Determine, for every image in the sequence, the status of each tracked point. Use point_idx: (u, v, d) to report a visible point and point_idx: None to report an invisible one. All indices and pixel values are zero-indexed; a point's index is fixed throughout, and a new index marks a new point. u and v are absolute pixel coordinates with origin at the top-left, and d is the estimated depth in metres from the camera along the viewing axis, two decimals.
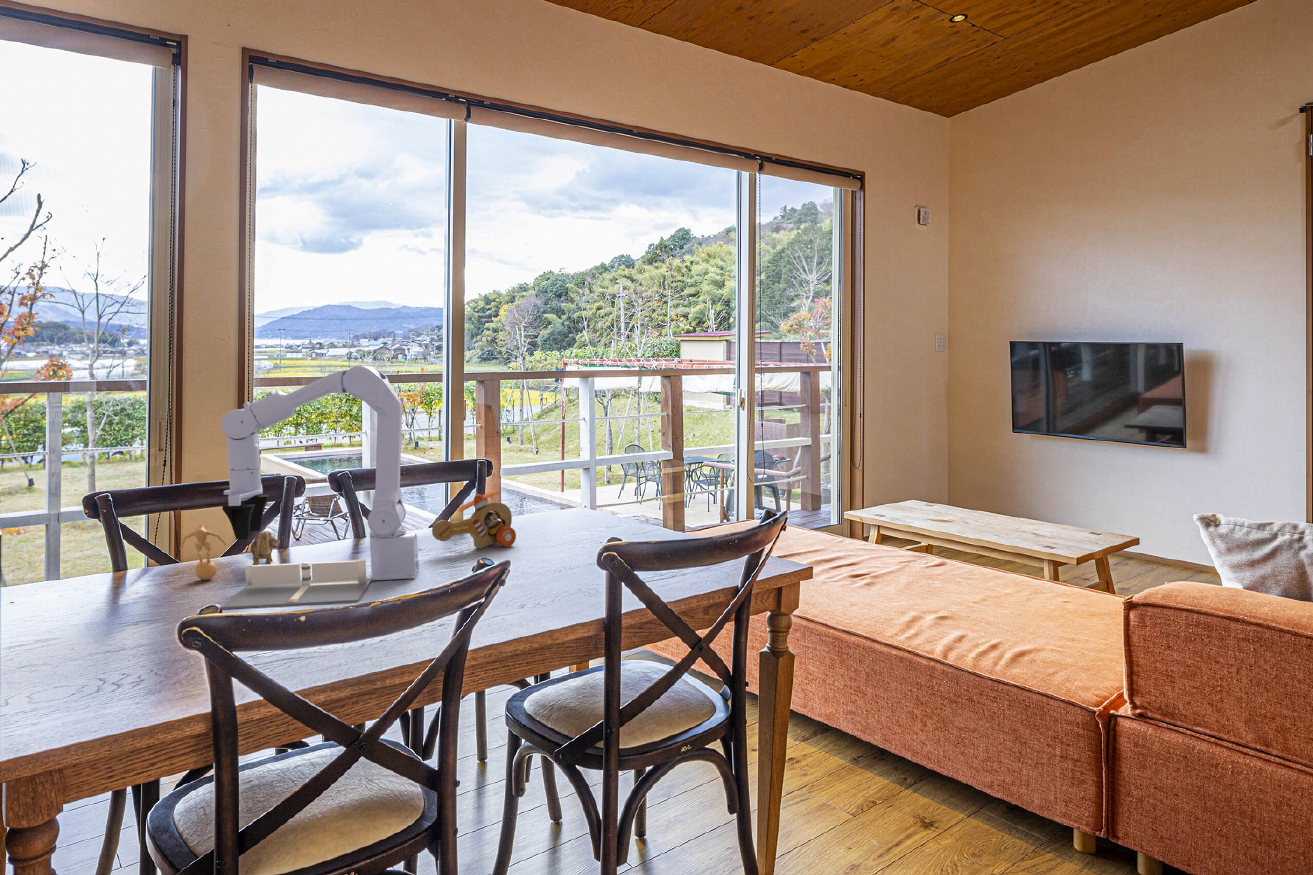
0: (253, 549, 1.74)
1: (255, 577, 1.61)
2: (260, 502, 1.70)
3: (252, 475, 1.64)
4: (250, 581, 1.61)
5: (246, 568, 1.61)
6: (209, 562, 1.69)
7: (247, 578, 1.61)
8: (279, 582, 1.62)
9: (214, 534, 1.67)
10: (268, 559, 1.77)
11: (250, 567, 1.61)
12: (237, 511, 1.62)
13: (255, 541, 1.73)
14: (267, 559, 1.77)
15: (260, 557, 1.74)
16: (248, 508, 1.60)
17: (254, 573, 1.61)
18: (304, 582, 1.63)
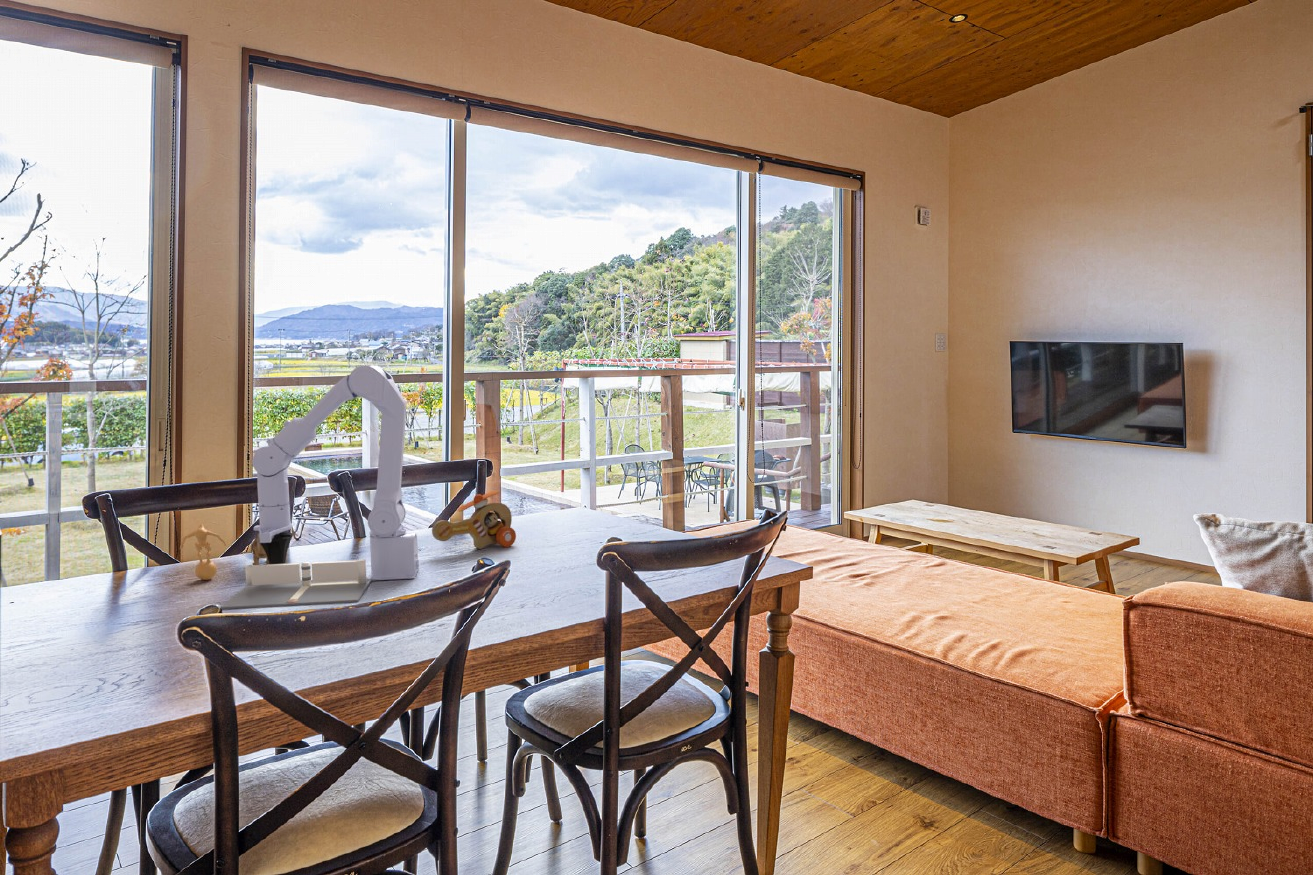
0: (253, 548, 1.74)
1: (255, 577, 1.61)
2: None
3: (282, 511, 1.65)
4: (250, 581, 1.61)
5: (246, 568, 1.61)
6: (209, 562, 1.69)
7: (247, 578, 1.61)
8: (279, 582, 1.62)
9: (214, 534, 1.67)
10: None
11: (250, 567, 1.61)
12: (273, 543, 1.67)
13: (255, 540, 1.74)
14: (267, 558, 1.77)
15: (260, 556, 1.75)
16: (283, 541, 1.65)
17: (254, 573, 1.61)
18: (304, 582, 1.63)
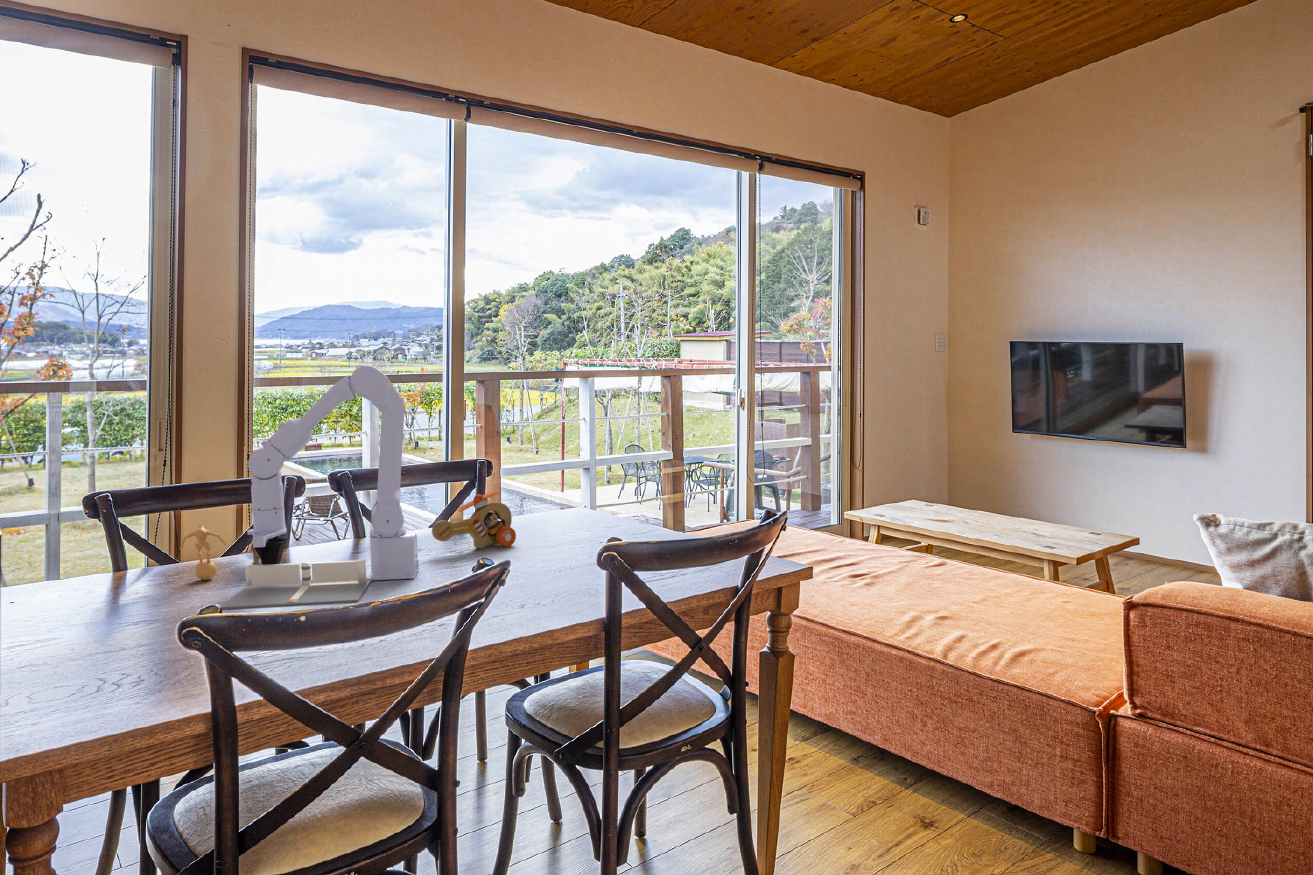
0: None
1: (255, 577, 1.61)
2: None
3: (276, 515, 1.61)
4: (250, 581, 1.61)
5: (246, 568, 1.61)
6: (209, 562, 1.69)
7: (247, 578, 1.61)
8: (279, 582, 1.62)
9: (214, 534, 1.67)
10: None
11: (250, 567, 1.61)
12: (267, 547, 1.63)
13: None
14: None
15: None
16: (278, 545, 1.62)
17: (254, 573, 1.61)
18: (304, 582, 1.63)
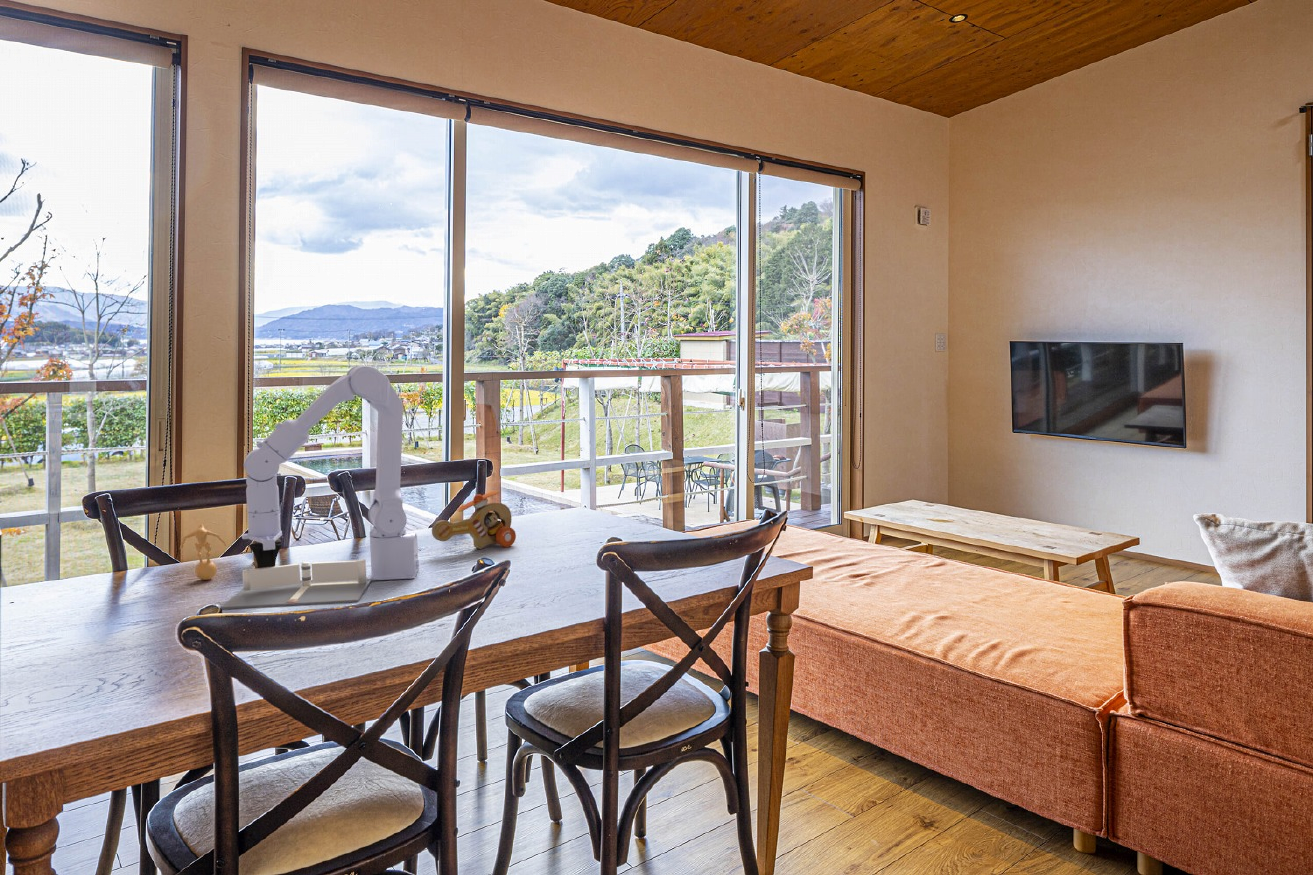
0: None
1: (254, 581, 1.59)
2: None
3: (276, 517, 1.59)
4: (249, 585, 1.58)
5: (244, 572, 1.58)
6: (209, 562, 1.69)
7: (245, 583, 1.58)
8: (279, 584, 1.61)
9: (214, 534, 1.67)
10: None
11: (248, 571, 1.58)
12: (263, 550, 1.60)
13: None
14: None
15: None
16: (278, 546, 1.60)
17: (253, 577, 1.58)
18: (304, 582, 1.63)
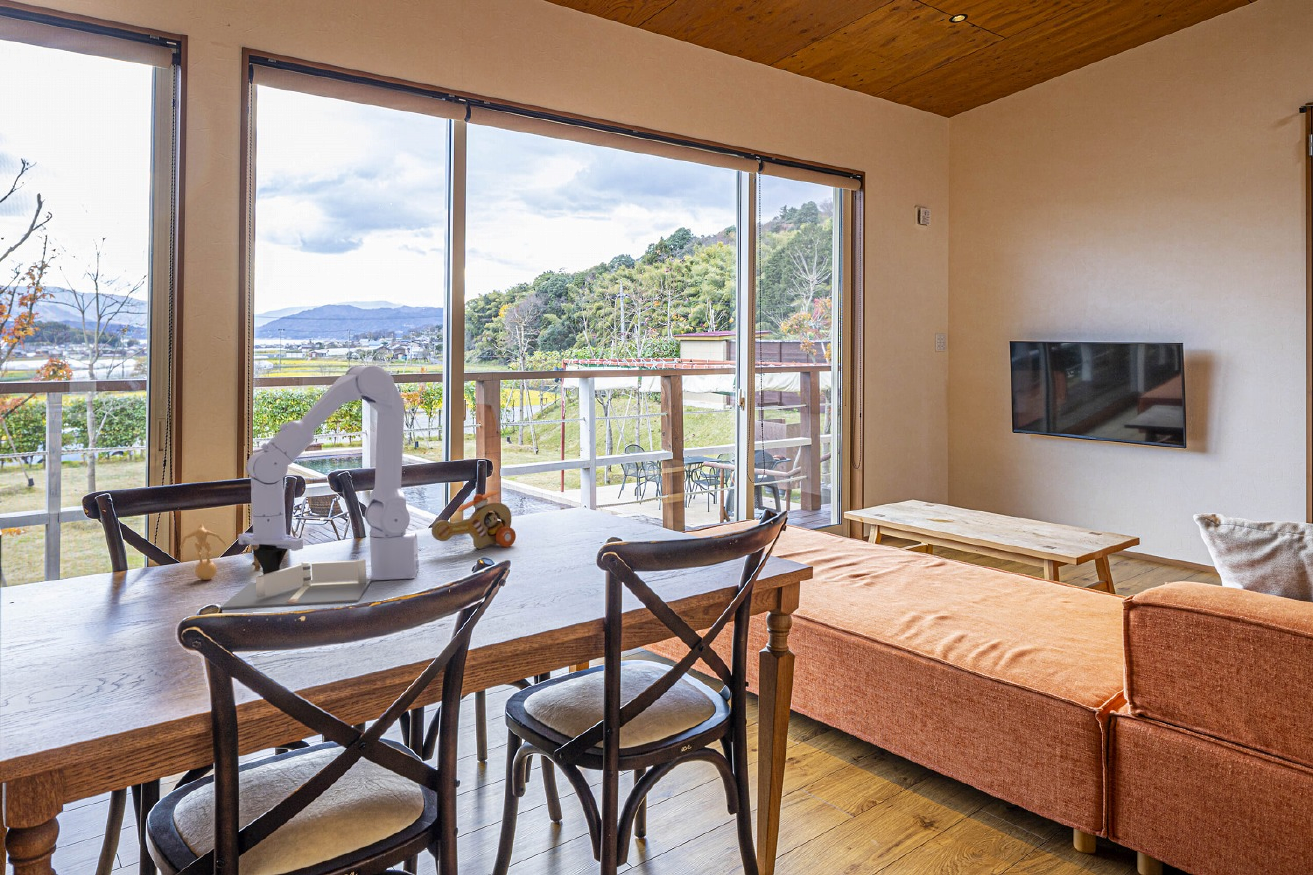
0: (254, 548, 1.75)
1: (267, 586, 1.55)
2: None
3: (285, 519, 1.57)
4: (264, 592, 1.54)
5: (260, 579, 1.53)
6: (209, 562, 1.69)
7: (261, 589, 1.53)
8: (287, 587, 1.59)
9: (214, 534, 1.67)
10: None
11: (263, 577, 1.54)
12: None
13: None
14: None
15: None
16: (286, 549, 1.58)
17: (266, 582, 1.55)
18: (304, 582, 1.63)
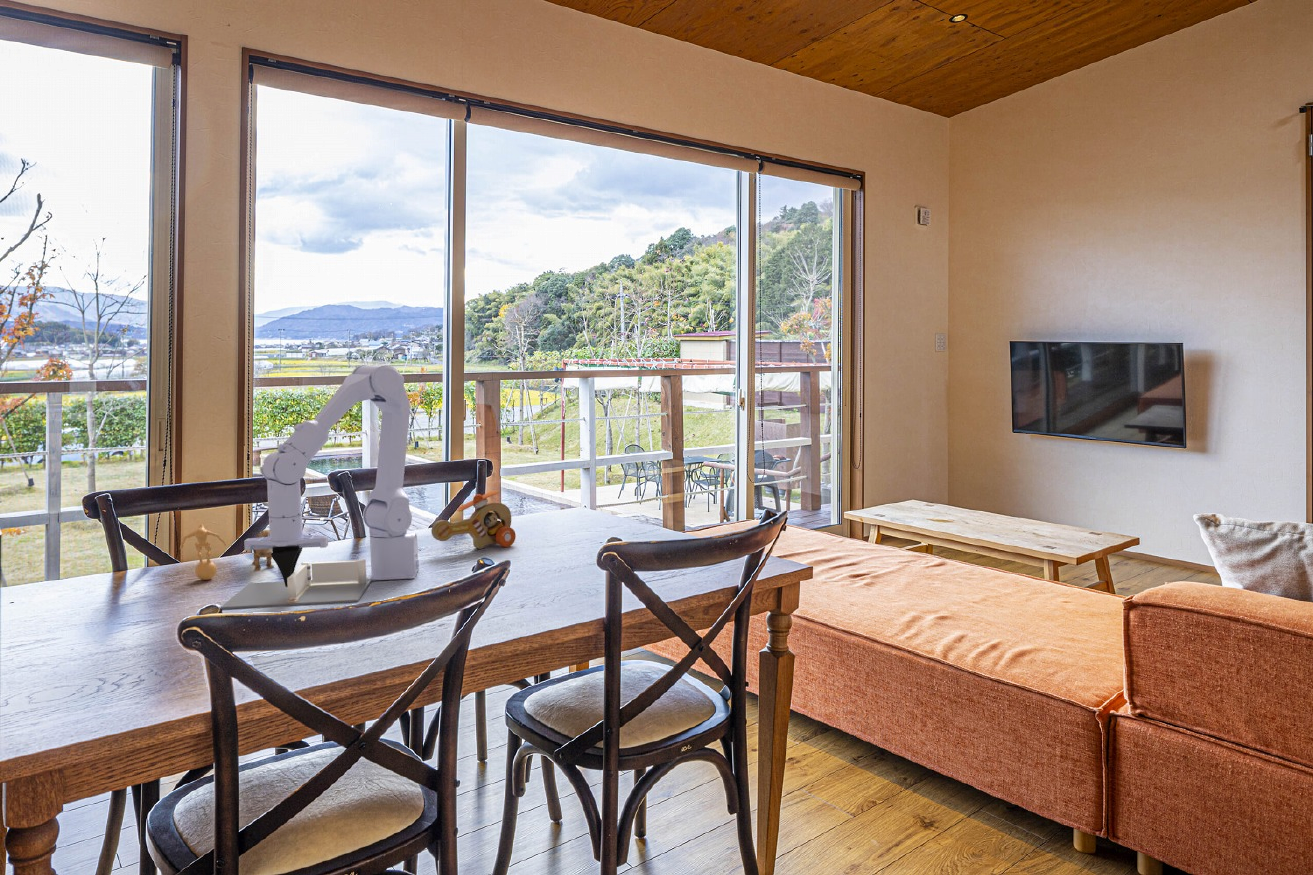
0: None
1: (296, 587, 1.54)
2: None
3: None
4: (295, 592, 1.53)
5: (294, 579, 1.53)
6: (209, 562, 1.69)
7: (295, 589, 1.53)
8: (302, 587, 1.59)
9: (214, 534, 1.67)
10: (269, 557, 1.78)
11: (294, 577, 1.53)
12: None
13: None
14: (268, 557, 1.78)
15: (261, 555, 1.76)
16: None
17: (296, 583, 1.54)
18: None
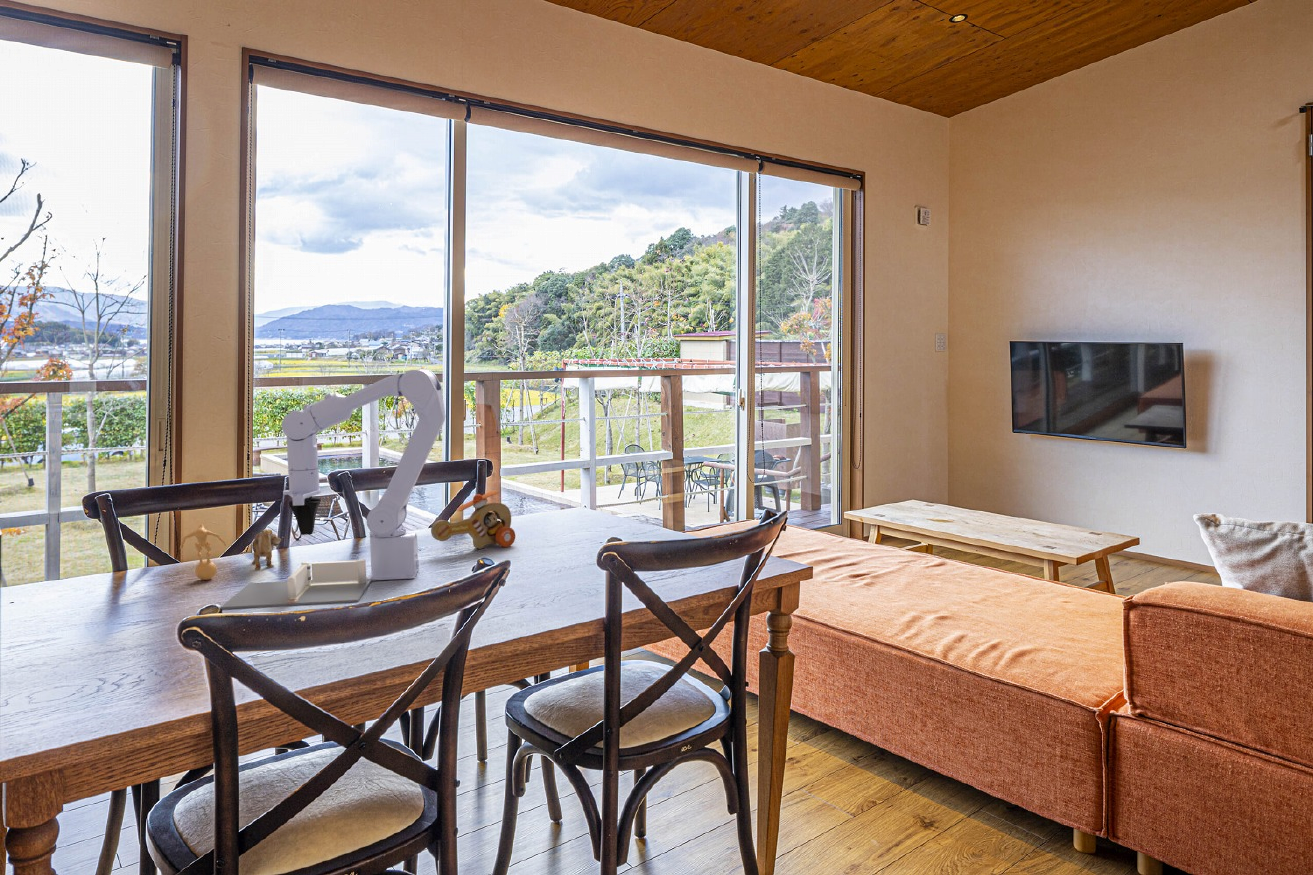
0: (254, 547, 1.76)
1: (296, 587, 1.54)
2: None
3: (312, 475, 1.67)
4: (296, 592, 1.53)
5: (294, 579, 1.53)
6: (209, 562, 1.69)
7: (295, 589, 1.53)
8: (302, 587, 1.59)
9: (214, 534, 1.67)
10: (269, 557, 1.79)
11: (295, 577, 1.53)
12: (302, 507, 1.68)
13: (257, 539, 1.75)
14: (268, 557, 1.79)
15: (261, 555, 1.76)
16: (314, 504, 1.67)
17: (296, 583, 1.54)
18: None
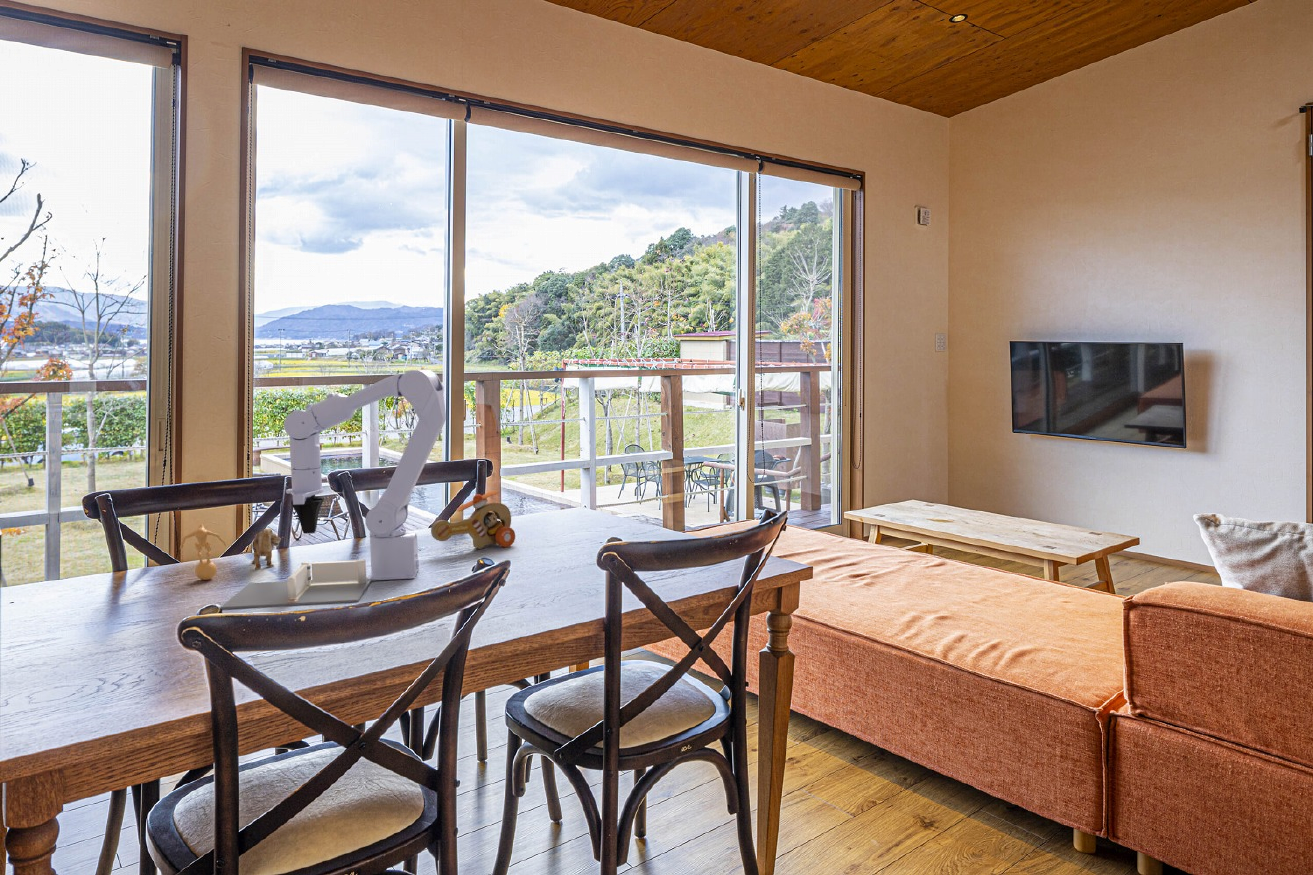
0: (255, 546, 1.76)
1: (296, 587, 1.54)
2: None
3: (314, 474, 1.67)
4: (296, 592, 1.53)
5: (294, 579, 1.53)
6: (209, 562, 1.69)
7: (295, 589, 1.53)
8: (302, 587, 1.59)
9: (214, 534, 1.67)
10: (269, 556, 1.79)
11: (295, 577, 1.53)
12: (305, 506, 1.69)
13: (257, 539, 1.76)
14: (268, 556, 1.79)
15: (262, 554, 1.77)
16: (316, 503, 1.68)
17: (296, 583, 1.54)
18: None
